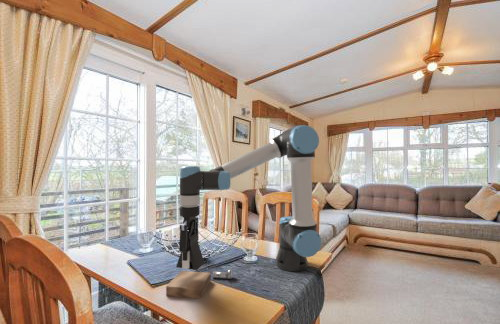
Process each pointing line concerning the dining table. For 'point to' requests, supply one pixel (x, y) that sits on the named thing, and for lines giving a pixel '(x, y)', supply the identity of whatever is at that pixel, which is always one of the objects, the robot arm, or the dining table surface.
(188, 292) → the brown flat block
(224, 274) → the loose bolt
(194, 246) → the phone stand
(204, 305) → the dining table surface
